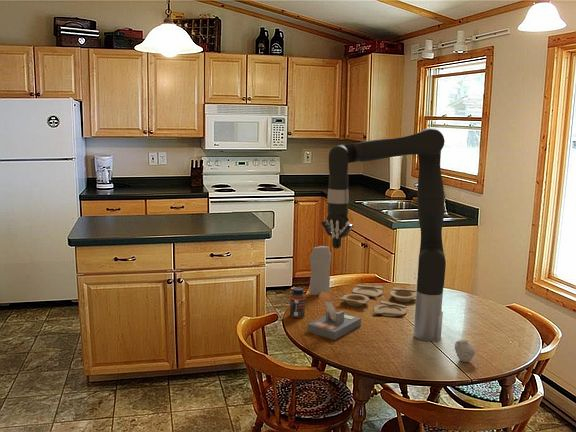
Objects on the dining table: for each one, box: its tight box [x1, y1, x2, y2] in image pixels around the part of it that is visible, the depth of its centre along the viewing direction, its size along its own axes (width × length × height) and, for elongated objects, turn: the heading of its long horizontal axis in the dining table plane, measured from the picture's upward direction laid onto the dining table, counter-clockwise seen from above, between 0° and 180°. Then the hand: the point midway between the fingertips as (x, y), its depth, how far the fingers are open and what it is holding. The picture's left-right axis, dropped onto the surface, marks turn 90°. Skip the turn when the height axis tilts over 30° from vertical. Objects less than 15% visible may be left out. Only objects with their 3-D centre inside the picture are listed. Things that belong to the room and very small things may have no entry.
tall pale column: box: [309, 245, 332, 296], centre depth 246 cm, size 11×4×22 cm, turn 112°
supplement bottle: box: [289, 286, 306, 319], centre depth 220 cm, size 6×6×11 cm
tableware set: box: [338, 284, 417, 317], centre depth 240 cm, size 35×29×4 cm
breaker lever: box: [318, 292, 337, 321], centre depth 204 cm, size 4×2×14 cm
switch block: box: [306, 309, 362, 341], centre depth 208 cm, size 12×18×7 cm, turn 142°
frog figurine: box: [454, 339, 476, 363], centre depth 183 cm, size 6×7×7 cm
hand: (336, 247), depth 203 cm, fingers closed
